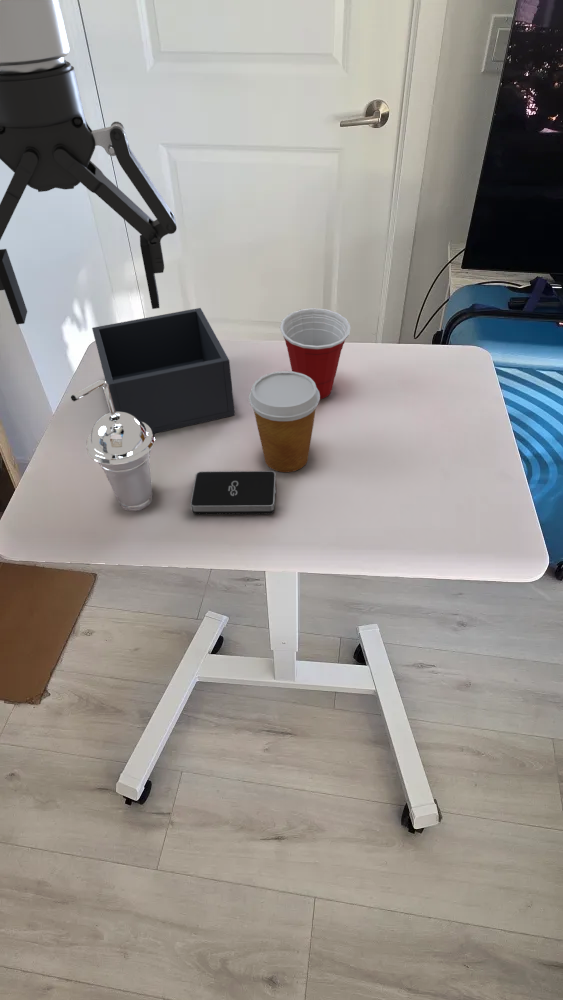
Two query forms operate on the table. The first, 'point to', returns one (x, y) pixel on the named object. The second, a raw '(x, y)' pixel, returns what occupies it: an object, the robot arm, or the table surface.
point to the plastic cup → (315, 344)
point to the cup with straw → (122, 451)
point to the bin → (166, 369)
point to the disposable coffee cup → (285, 417)
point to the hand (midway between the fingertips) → (89, 310)
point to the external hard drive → (234, 492)
